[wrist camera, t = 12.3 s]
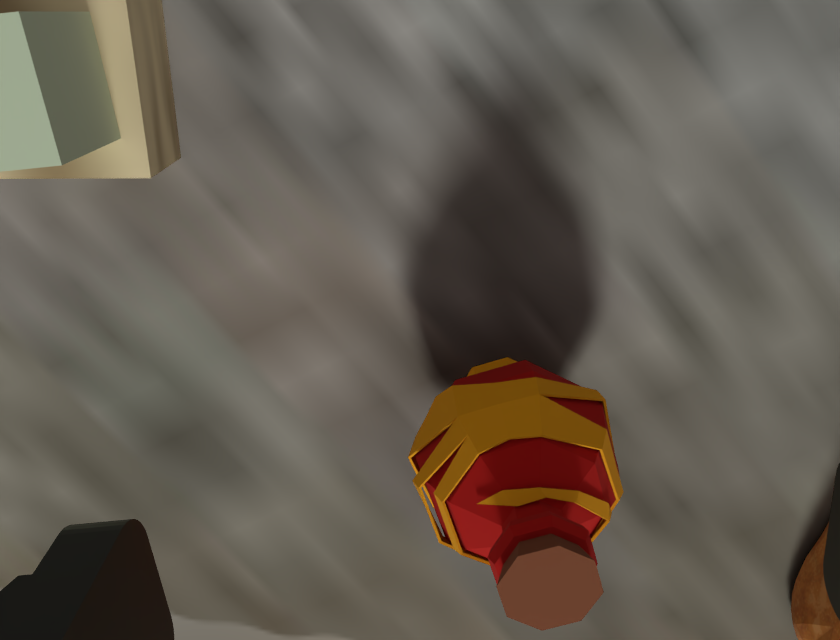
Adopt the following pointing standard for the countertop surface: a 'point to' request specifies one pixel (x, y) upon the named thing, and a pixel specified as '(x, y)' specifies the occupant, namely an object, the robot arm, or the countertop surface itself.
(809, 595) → the bread
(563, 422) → the potion bottle
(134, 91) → the oak block
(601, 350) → the countertop surface
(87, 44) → the sage block
